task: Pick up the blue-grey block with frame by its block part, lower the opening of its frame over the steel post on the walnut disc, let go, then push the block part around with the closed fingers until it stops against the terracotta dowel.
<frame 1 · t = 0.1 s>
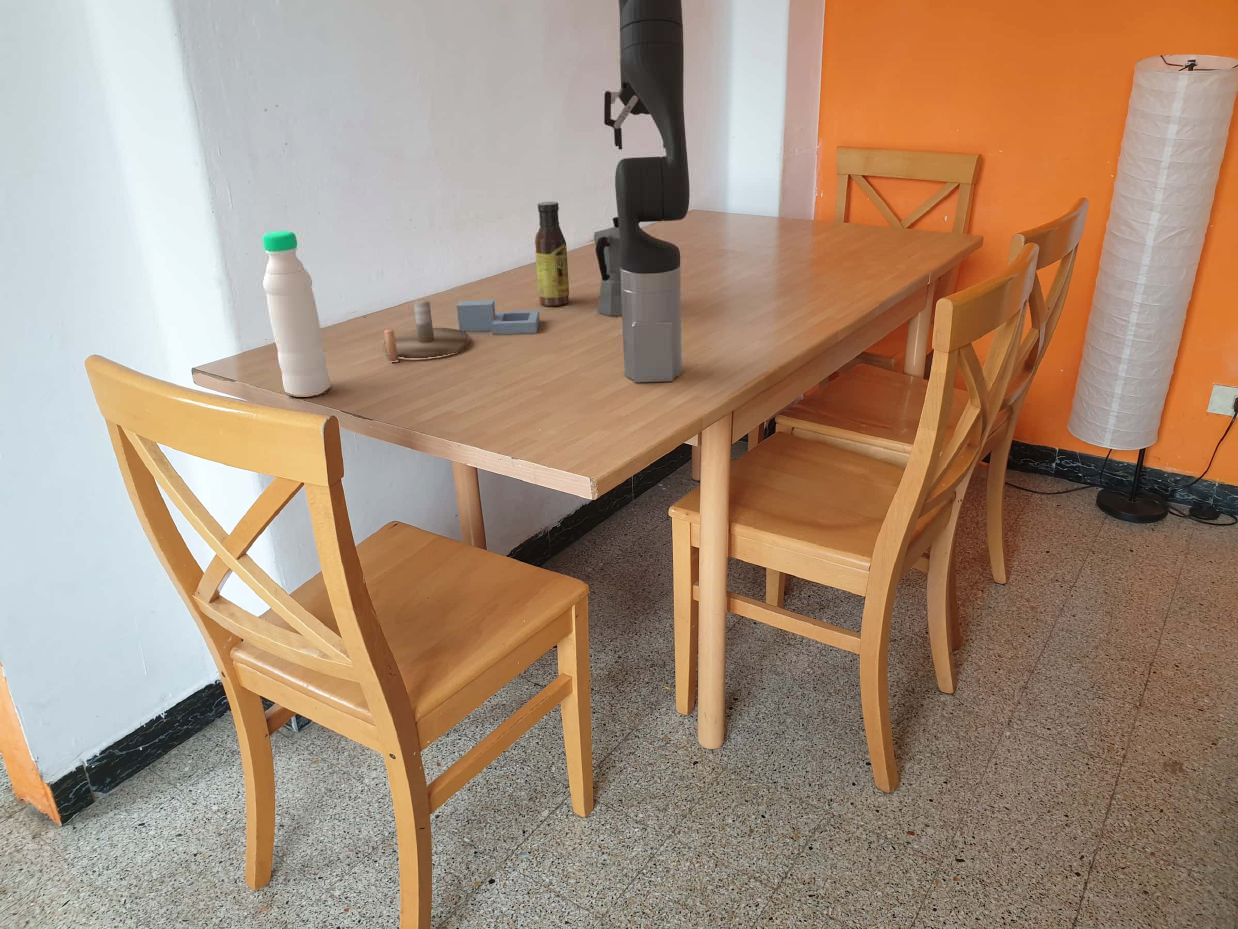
hand: (642, 148, 182), 29 cm above the table, tool pointing down, fingers open, 8 cm apart
coffeepot: (618, 312, 186), on the table
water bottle: (308, 392, 152), on the table
dowel: (393, 361, 164), on the table
sauce bottle: (554, 304, 194), on the table
post stand: (427, 346, 171), on the table
blue-grey block with frame: (478, 328, 180), on the table
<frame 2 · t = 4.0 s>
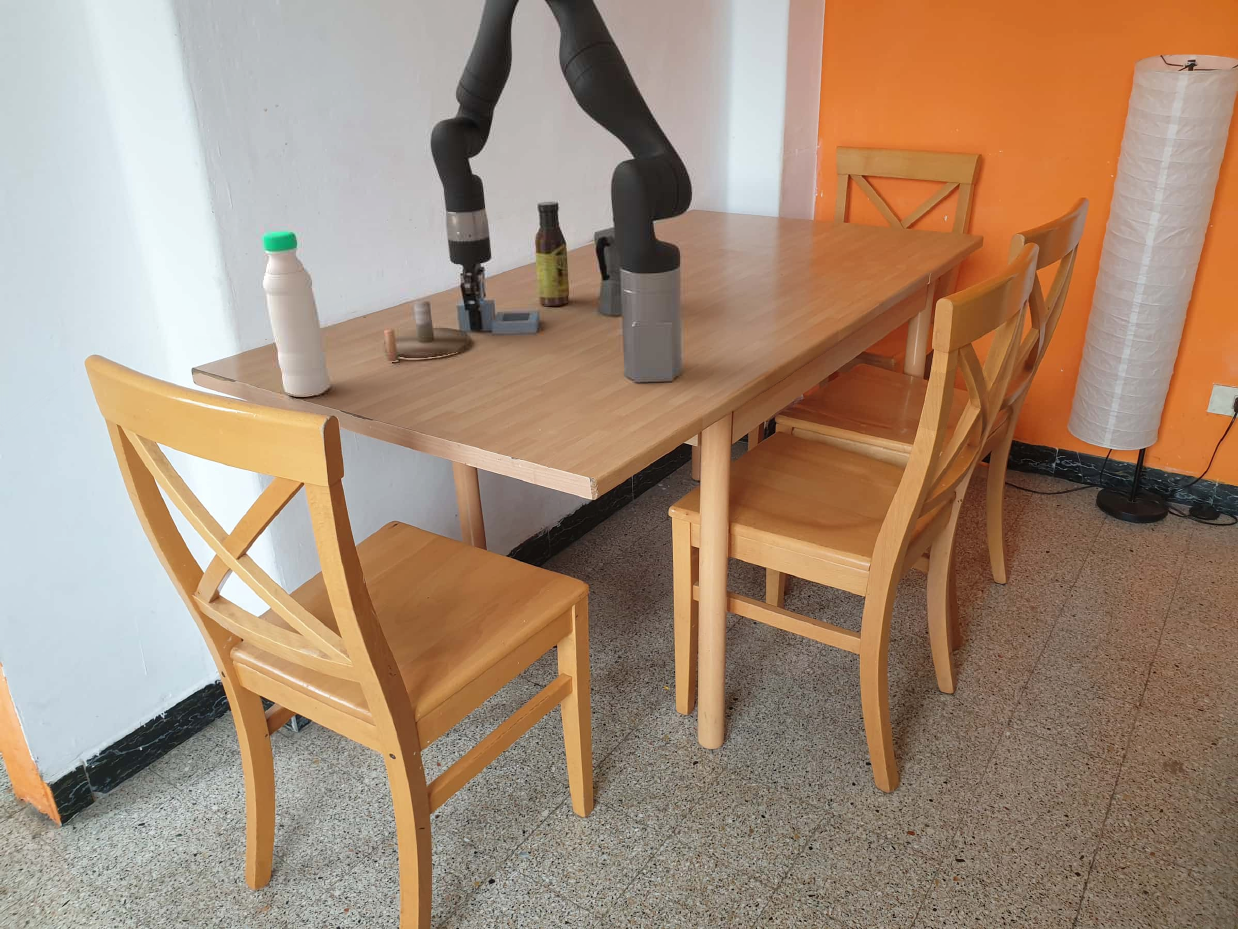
hand: (478, 326, 180), 0 cm above the table, tool pointing down, fingers closed on blue-grey block with frame, 3 cm apart
blue-grey block with frame: (478, 328, 180), on the table, touching gripper
everything else where it was.
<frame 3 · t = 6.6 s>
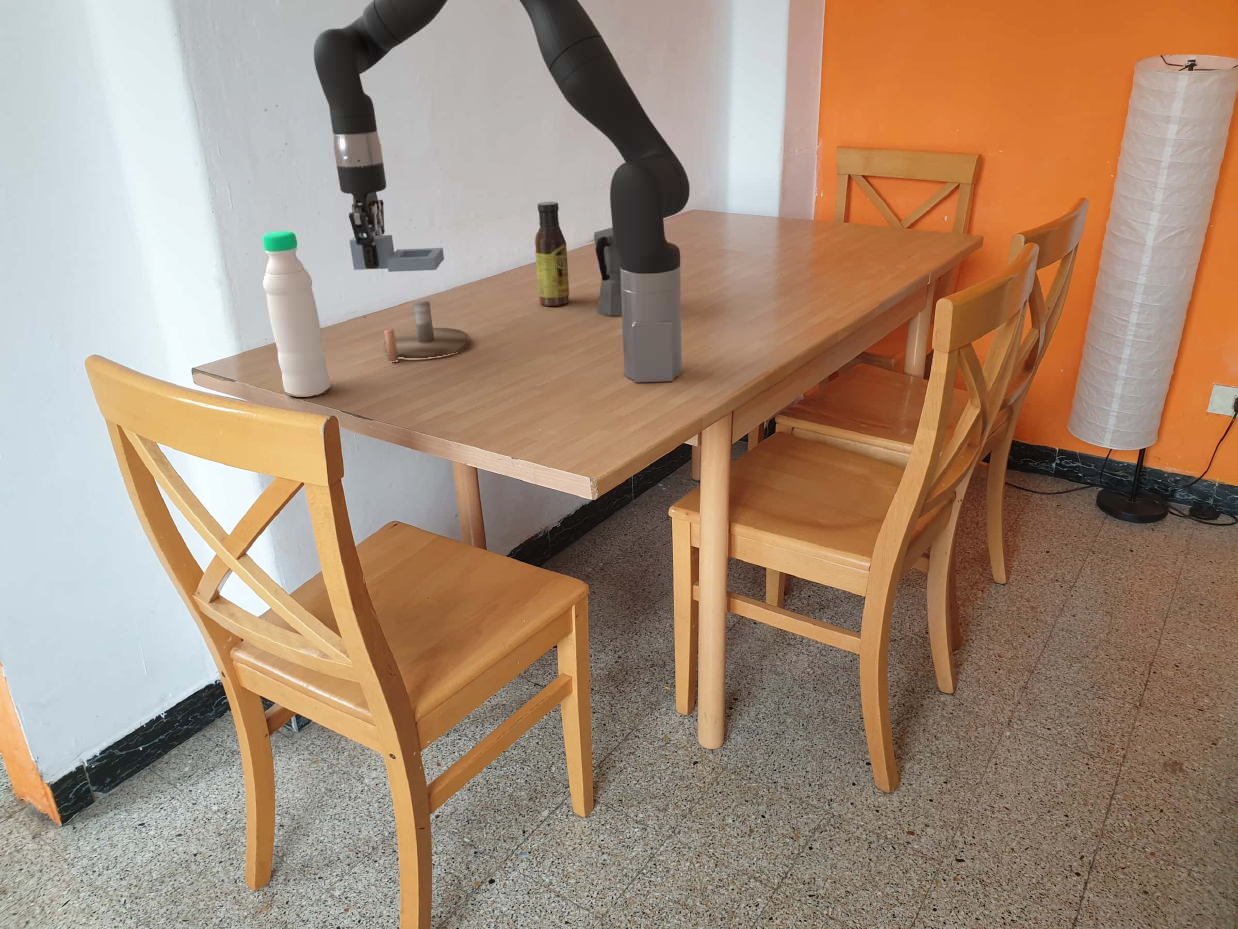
hand: (375, 264, 165), 15 cm above the table, tool pointing down, fingers closed on blue-grey block with frame, 3 cm apart
blue-grey block with frame: (375, 266, 165), point 15 cm above the table, touching gripper
everything else where it was.
when the fingers open (3 cm above the table, at t = 9.1 s): blue-grey block with frame drops 1 cm, resting on post stand.
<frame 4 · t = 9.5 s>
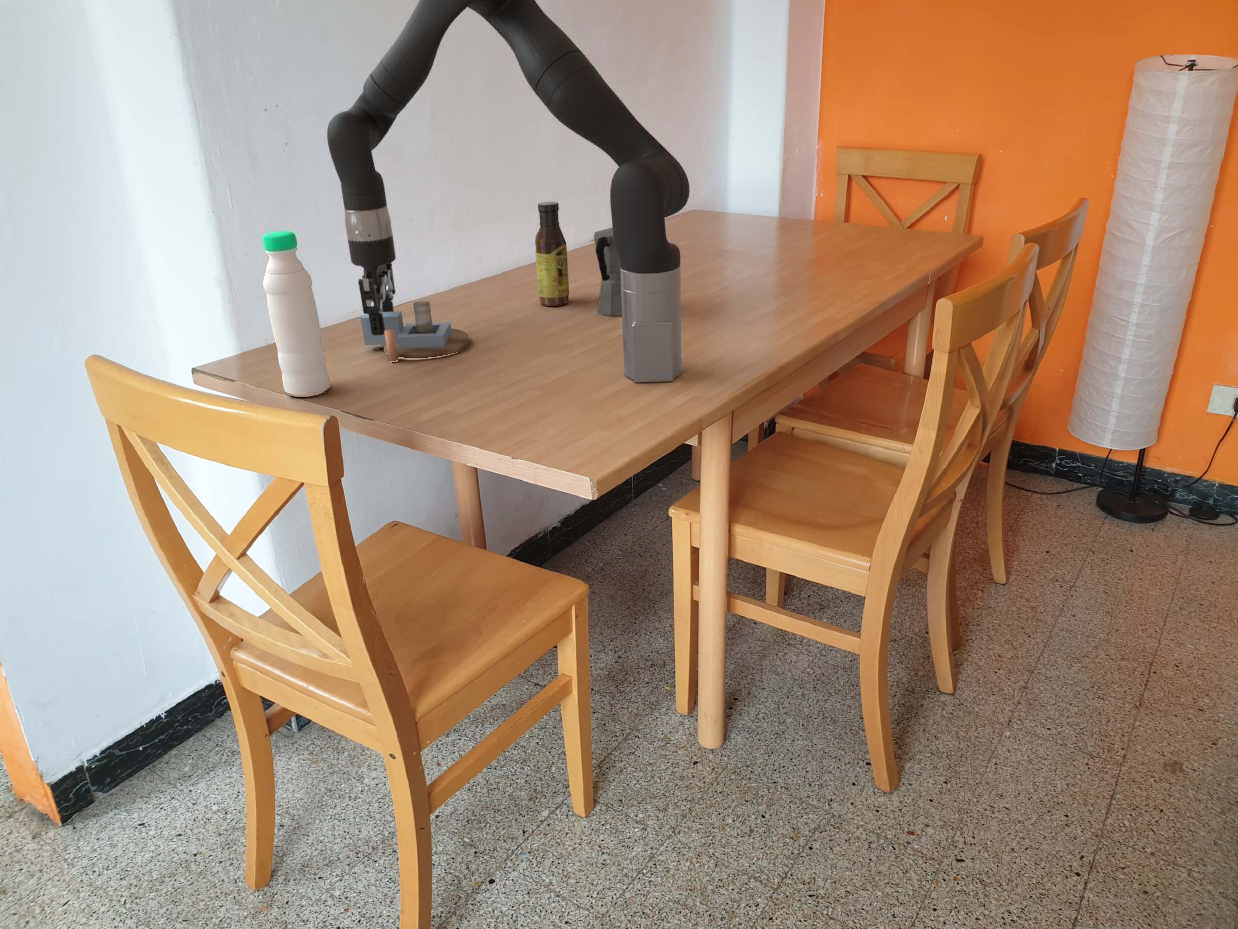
hand: (383, 327, 169), 4 cm above the table, tool pointing down, fingers open, 7 cm apart
blue-grey block with frame: (385, 341, 170), point 1 cm above the table, touching post stand
everything else where it was.
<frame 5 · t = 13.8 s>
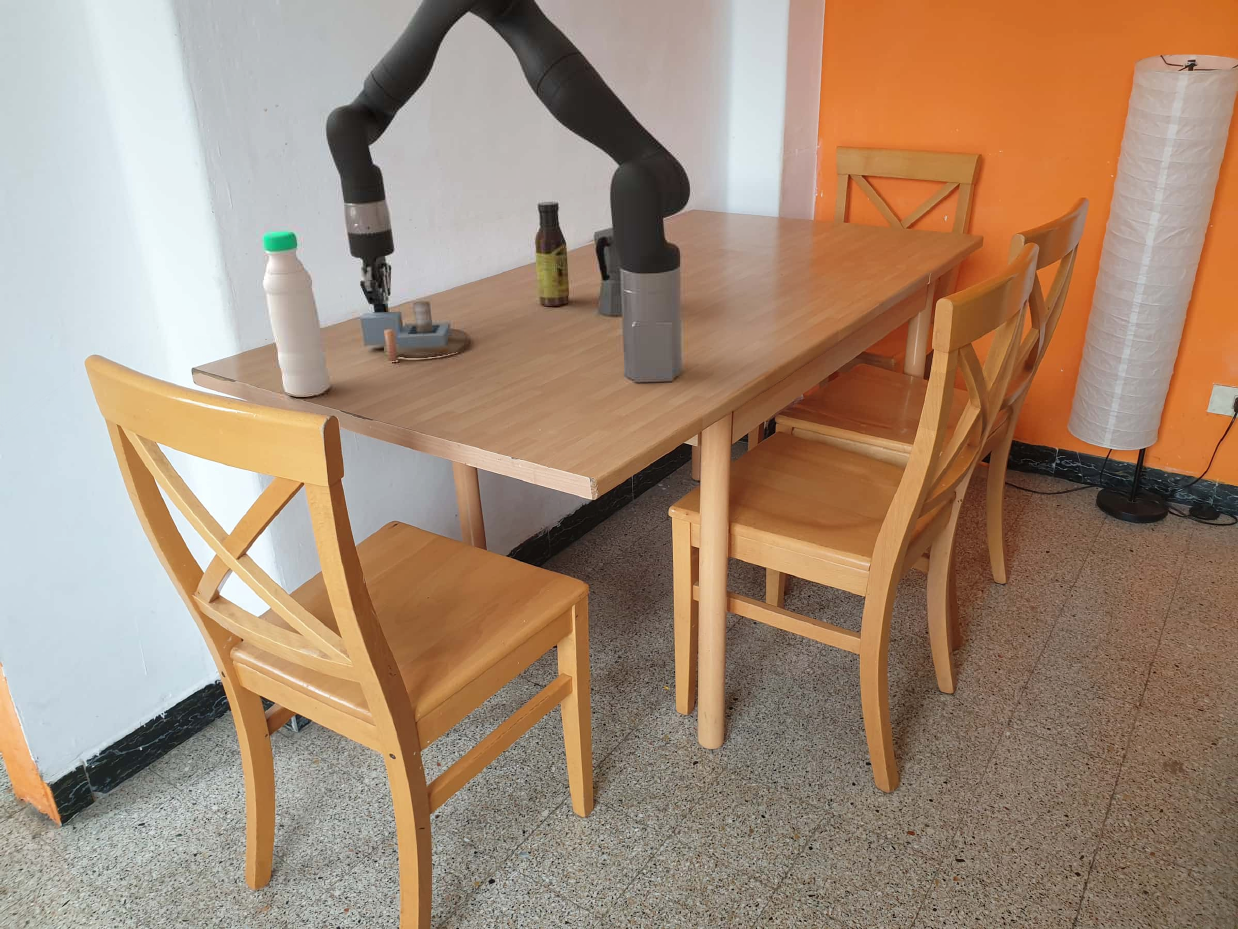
hand: (383, 323, 173), 3 cm above the table, tool pointing down, fingers closed
blue-grey block with frame: (384, 342, 170), point 1 cm above the table, touching gripper
everything else where it was.
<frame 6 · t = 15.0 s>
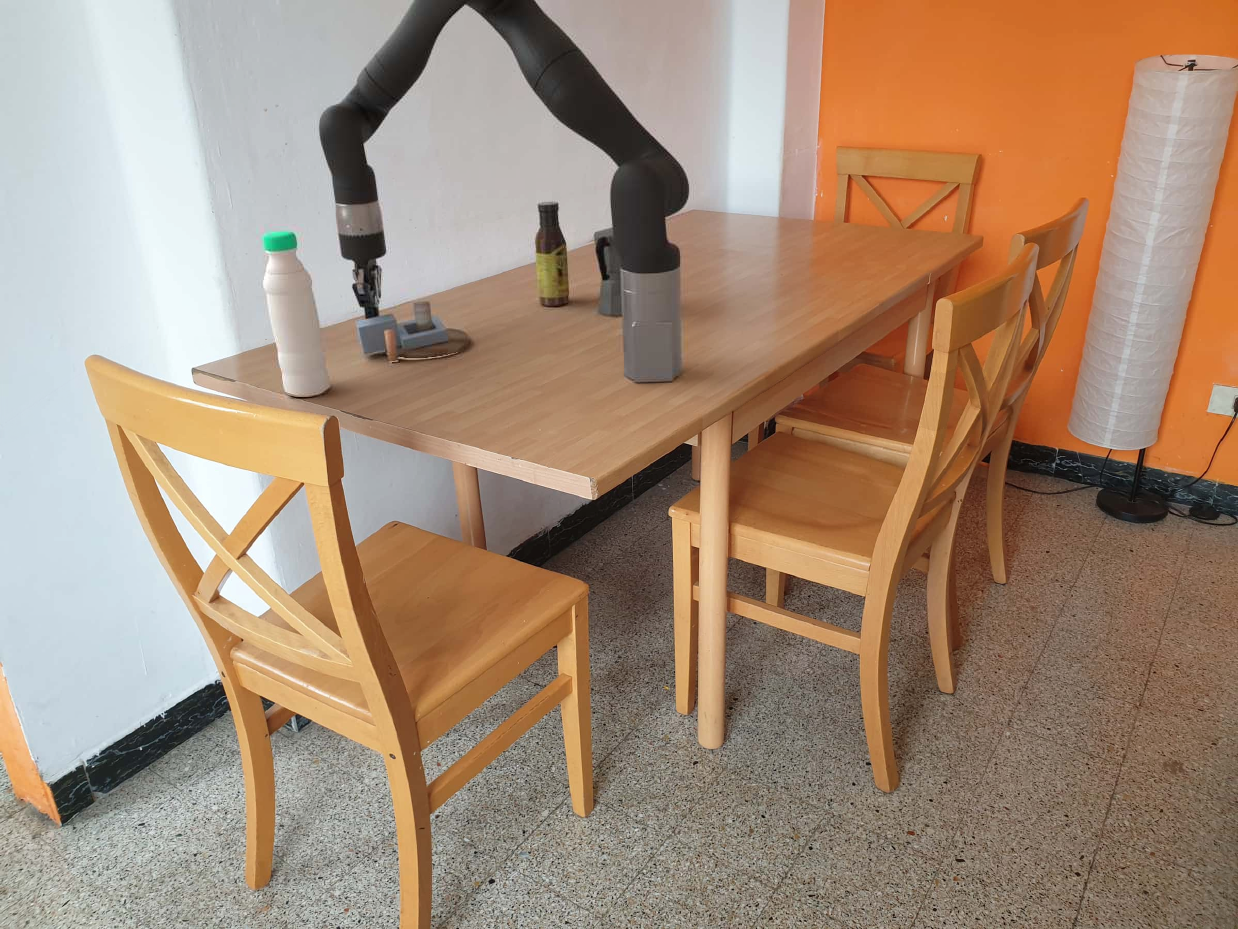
hand: (373, 326, 169), 4 cm above the table, tool pointing down, fingers closed
blue-grey block with frame: (381, 346, 168), point 1 cm above the table, tilted 7°, touching gripper
everything else where it was.
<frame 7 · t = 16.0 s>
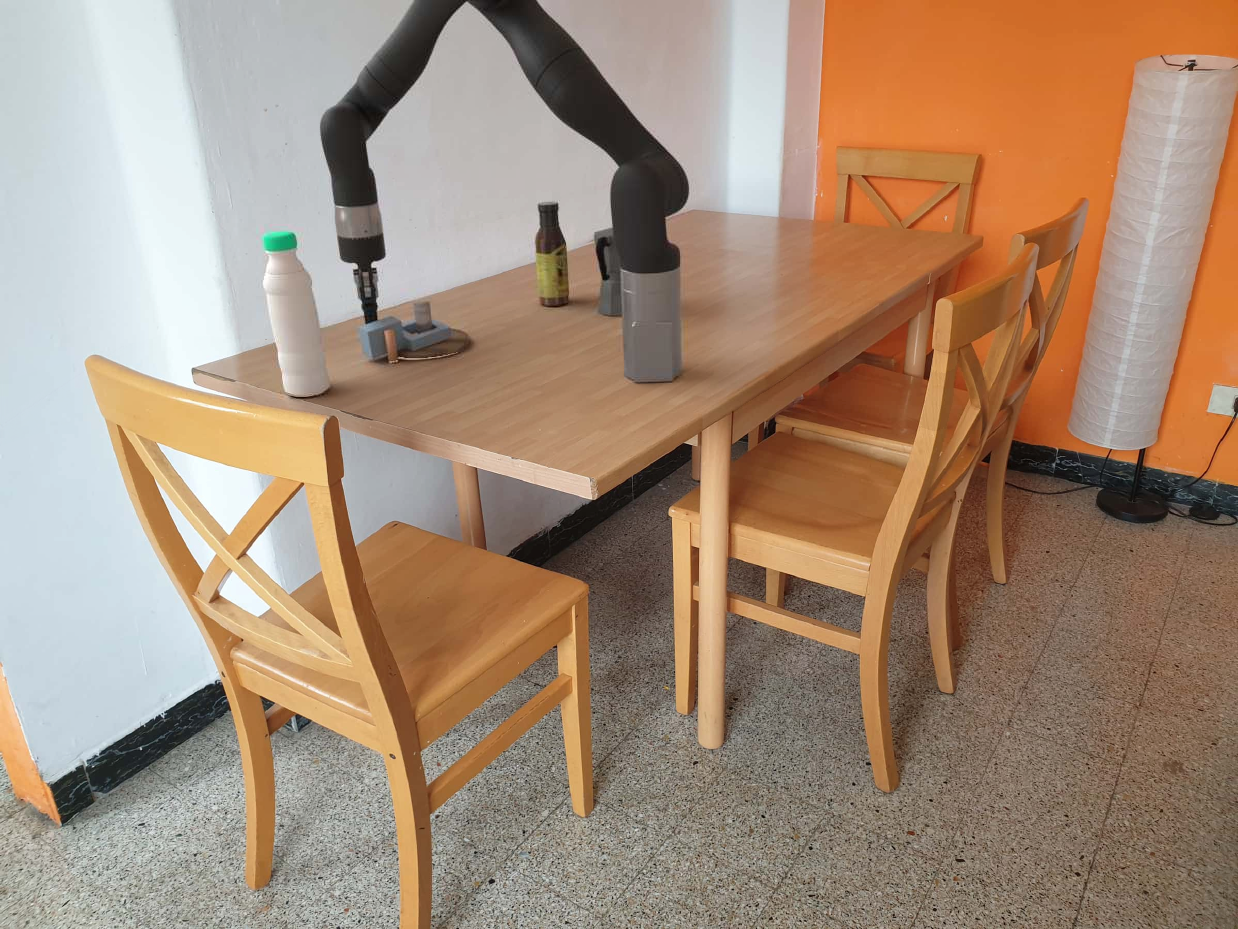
hand: (372, 330, 167), 4 cm above the table, tool pointing down, fingers closed
blue-grey block with frame: (384, 350, 166), point 1 cm above the table, tilted 6°, touching gripper, post stand
everything else where it was.
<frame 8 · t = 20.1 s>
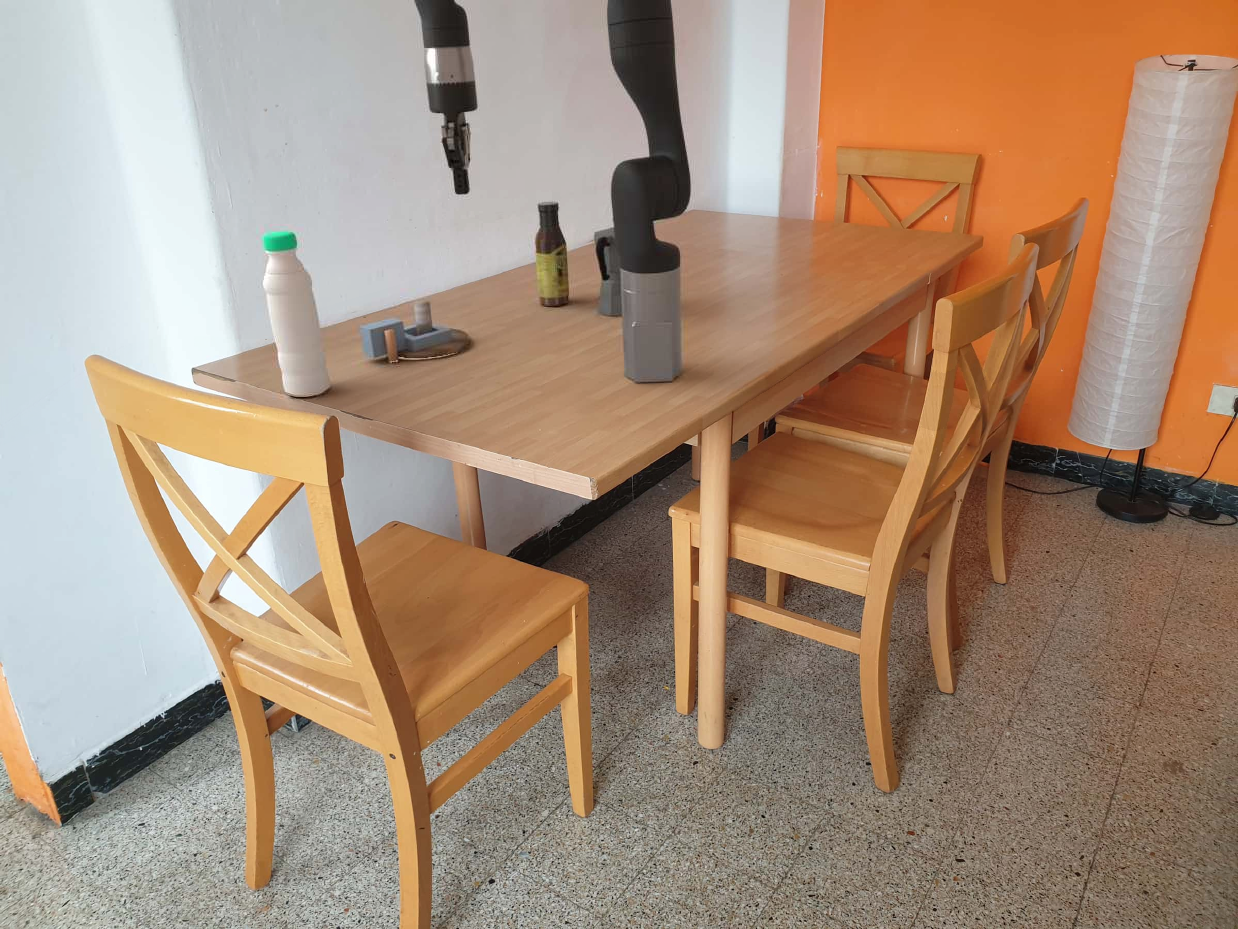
hand: (462, 193, 156), 27 cm above the table, tool pointing down, fingers closed
blue-grey block with frame: (385, 351, 165), point 1 cm above the table, touching post stand
everything else where it was.
at the end: blue-grey block with frame 1.1 cm from the target spot on the post stand, point 1.2 cm above the post stand's base; blue-grey block with frame 2.6 cm from the dowel (horizontally); the gripper is holding nothing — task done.
